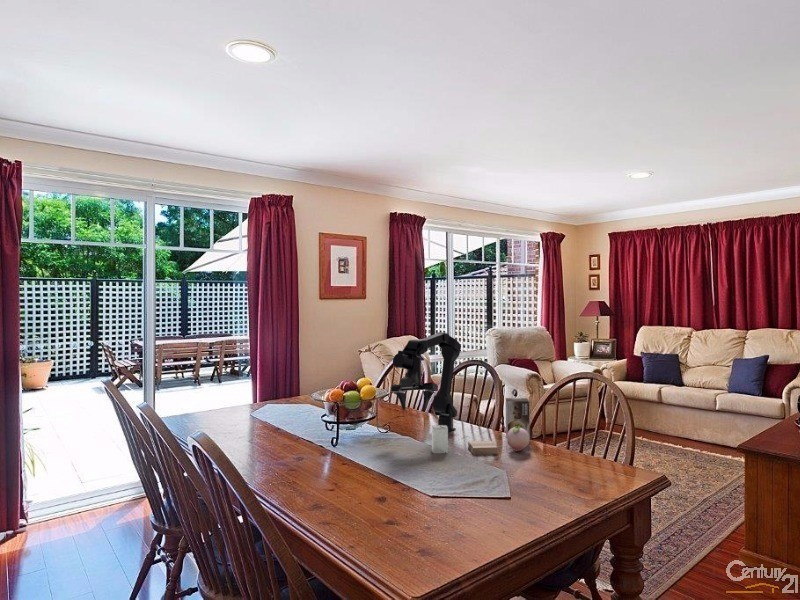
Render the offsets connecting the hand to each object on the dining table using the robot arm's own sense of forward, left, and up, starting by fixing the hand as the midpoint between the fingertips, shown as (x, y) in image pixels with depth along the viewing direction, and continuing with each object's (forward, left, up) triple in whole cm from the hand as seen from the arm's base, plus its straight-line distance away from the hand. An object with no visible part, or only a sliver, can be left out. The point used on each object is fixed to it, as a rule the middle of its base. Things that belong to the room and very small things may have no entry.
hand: (414, 409), depth 202 cm
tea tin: (+1, +14, -14) cm, 19 cm away
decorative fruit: (-20, +35, -14) cm, 43 cm away
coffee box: (-36, +25, -14) cm, 46 cm away
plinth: (-11, +25, -13) cm, 30 cm away
